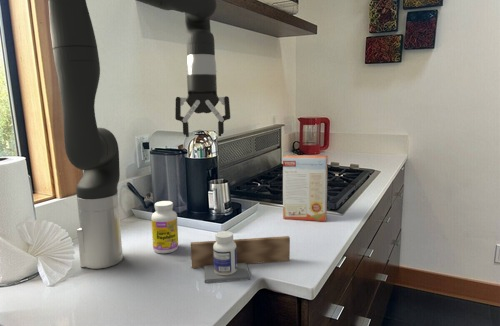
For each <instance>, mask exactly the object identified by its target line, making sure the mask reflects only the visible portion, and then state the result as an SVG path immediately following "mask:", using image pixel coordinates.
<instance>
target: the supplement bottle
mask: <svg viewBox="0 0 500 326" xmlns="http://www.w3.org/2000/svg"><path fill="white" fill-rule="evenodd" d="M173 209H174V202H172V201H170V200H161V201H157V202H155V203H154V210H155V211H154V212H153V213H152V214H151V235H152V248H153V249H152V250H153V251H154V252H155V253H158V254H170V253H173V252H175V251H176V250H177V249H178V248H179V238H178V237H179V231H178V230H179V228H178V214H177V212H176V211H175V210H173Z"/></svg>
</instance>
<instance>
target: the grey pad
mask: <svg viewBox="0 0 500 326" xmlns="http://www.w3.org/2000/svg"><path fill="white" fill-rule="evenodd" d="M203 268H204V269H203V270H204V283H205V284H210V283H222V282H223V283H224V282H233V281H234V282H235V281H244V280H245V281H246V280H251V274H250V271H249V269H248V264H246V263H237V271H236V272H235V273H233V274H231V275H218V274H216V273H215V271H214V265H206V266H204V267H203Z"/></svg>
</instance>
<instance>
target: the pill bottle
mask: <svg viewBox="0 0 500 326" xmlns="http://www.w3.org/2000/svg"><path fill="white" fill-rule="evenodd" d="M233 240H234V233H233V232H232V231H230V230H229V231H228V230H223V231H218V232H216V233H215V241H216V243H215V244H214V245H213V254H214V271H215V273H216V274H218V275H231V274H233V273H235V272H236V271H237V250H236V243H235V242H234V241H233Z"/></svg>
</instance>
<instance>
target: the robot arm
mask: <svg viewBox="0 0 500 326" xmlns="http://www.w3.org/2000/svg"><path fill="white" fill-rule="evenodd" d="M47 1H48V12H49V13H48V14H49V16H48V17H49V29H50V30H49V31H50V37H51V38H50V39H51V44H52V45H51V47H52V48H51V49H52V52H53V53H52V54H53V58H54V66H55V71H56V74H57V79H58V89H59V95H60V99H61V101H60V102H61V107H62V108H61V109H62V120H63V138H64V140H63V141H64V150H65V153H66V154H65V155H66V157H67V159H68V161H69V162H70V164H71V165H72V166H74V167H75V168H76V169H78V170H81V171H83V172H82V176H81V178H80V180H79V182H78V183H77V185H76V188H75V190H76V201H77V211H78V222H79V227H78V228H77V230H76V231H77V232H76V233H77V242H78V243H77V244H78V253H79V262H80V268H88V269H95V270H96V269H105V268H110V267H114V266H115V265H118V264H119V263H120V262H122V260H123V258H124V256H123V246H122V245H123V243H122V242H123V241H122V231H121V229H122V228H121V219H120V207H119V205H120V204H119V194H118V191H119V190H118V186H119V182H120V178H121V177H120V176H121V175H120V173H121V172H120V169H121V168H120V151H119V149H120V148H119V143H118V140H117V137H116V136H115V135H114V134H113V132H111V130H109V129H107V128H105V127H98V123H97V120H96V119H97V118H96V113H95V112H96V109H95V103H96V96H97V92H98V88H99V87H98V86H99V83H100V77H101V66H100V65H101V64H100V63H101V62H100V57H99V50H98V45H97V39H96V35H95V31H94V25H93V22H92V19H91V16H90V12H89V9H88V4H87V0H47ZM135 1H136V2H138V3H143V4H146V5H149V6H152V7H154V8H157V9H160V10H162V11H178V12H181V13H182V14H183V21H184V29H185V33H186V55H187V56H186V57H187V58H186V79H187V80H186V81H187V84H186V85H187V96H186V97H180V96H176V97H175V108H174V110H175V111H174V112H175V116H174V118H175V120H176V121H179V122H181V123H182V133H183V135H184V136H185V137H186V138H189V137H190V132H189V131H190V129H189V122H188V121H189V119H190V118H191V116H192V115H193V113H195V114H203V113H204V114H210V113H212V114H214V116H215V118H217V120H218V122H217V132H218V133H217V135H218V137H222V135H224V131H225V130H224V128H225V127H224V126H225V124H224V122H225V121H228V120H230V119H231V109H230V108H231V106H230V98H229V96H220V97H219V95H218V90H217V89H218V88H217V87H218V85H217V61H216V55H215V54H216V53H215V52H216V51H215V37H214V35H213V33H212V32H211V17H212V16H213V15H214V14H215V12H216V9H217V0H135ZM185 102H186V103H187V104H188V106H189V107H190V108H189V109H188V111H187V112H186V114H185V115H184V116H183V115H182V112H181V111H182V110H181V109H182V107H181V106H184V105H185ZM219 102H220V104H221V105H222V106H224V115H222V114H221V113H220V112H219V111H218V109H216V106H217V104H218V103H219Z"/></svg>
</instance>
